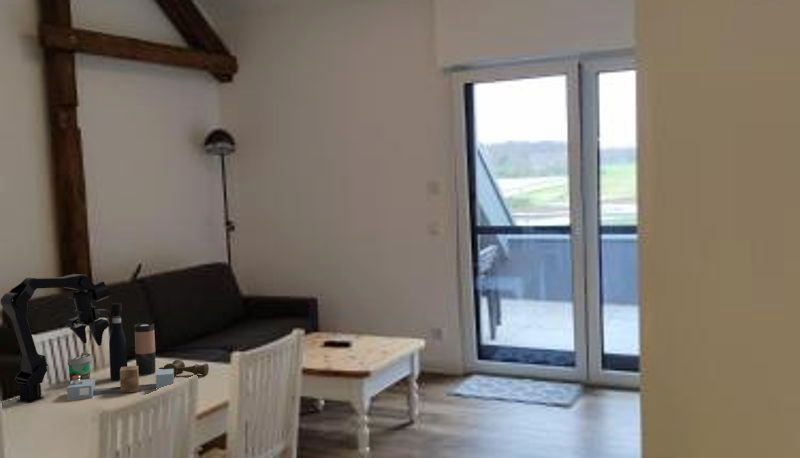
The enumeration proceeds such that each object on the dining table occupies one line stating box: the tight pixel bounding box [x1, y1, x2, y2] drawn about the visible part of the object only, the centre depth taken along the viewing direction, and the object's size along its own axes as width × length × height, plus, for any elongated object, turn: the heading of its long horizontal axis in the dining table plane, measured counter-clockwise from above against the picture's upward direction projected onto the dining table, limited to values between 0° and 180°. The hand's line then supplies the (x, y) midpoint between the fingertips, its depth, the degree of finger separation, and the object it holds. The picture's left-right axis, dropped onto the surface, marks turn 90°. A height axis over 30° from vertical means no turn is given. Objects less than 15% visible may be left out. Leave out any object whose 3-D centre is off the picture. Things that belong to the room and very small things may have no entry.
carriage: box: [119, 365, 140, 394], centre depth 266 cm, size 6×6×8 cm
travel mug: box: [134, 322, 156, 376], centre depth 292 cm, size 8×8×20 cm
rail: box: [93, 383, 157, 396], centre depth 266 cm, size 22×3×2 cm, turn 106°
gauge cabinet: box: [66, 378, 96, 401], centre depth 262 cm, size 8×10×4 cm
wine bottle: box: [108, 302, 128, 381], centre depth 284 cm, size 6×6×30 cm
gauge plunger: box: [72, 375, 81, 385], centre depth 261 cm, size 3×3×5 cm
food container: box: [67, 352, 93, 382], centre depth 282 cm, size 12×6×10 cm, turn 179°
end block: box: [155, 369, 175, 390], centre depth 270 cm, size 6×8×6 cm
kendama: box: [158, 359, 210, 378], centre depth 288 cm, size 6×10×20 cm
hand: (92, 344), depth 278 cm, fingers open, 9 cm apart
